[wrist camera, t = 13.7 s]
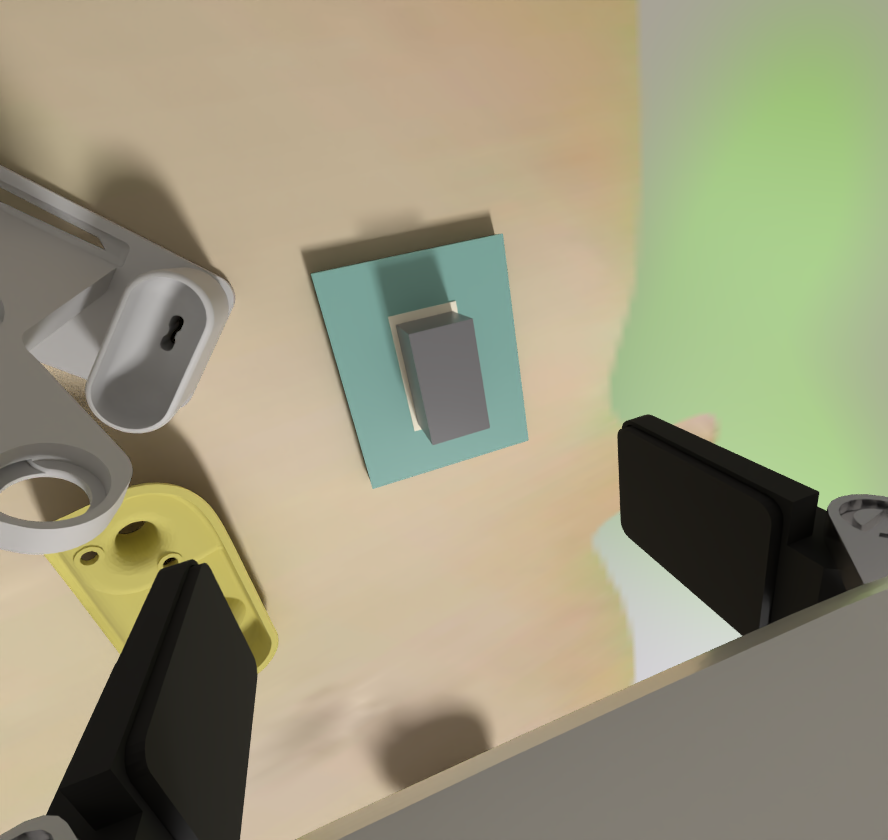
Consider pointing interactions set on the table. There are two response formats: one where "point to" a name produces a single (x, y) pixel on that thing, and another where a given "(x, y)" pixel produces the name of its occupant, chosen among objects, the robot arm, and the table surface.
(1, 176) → the phone holder
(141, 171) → the table surface
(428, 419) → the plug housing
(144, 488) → the plastic component
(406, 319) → the board
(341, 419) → the table surface
